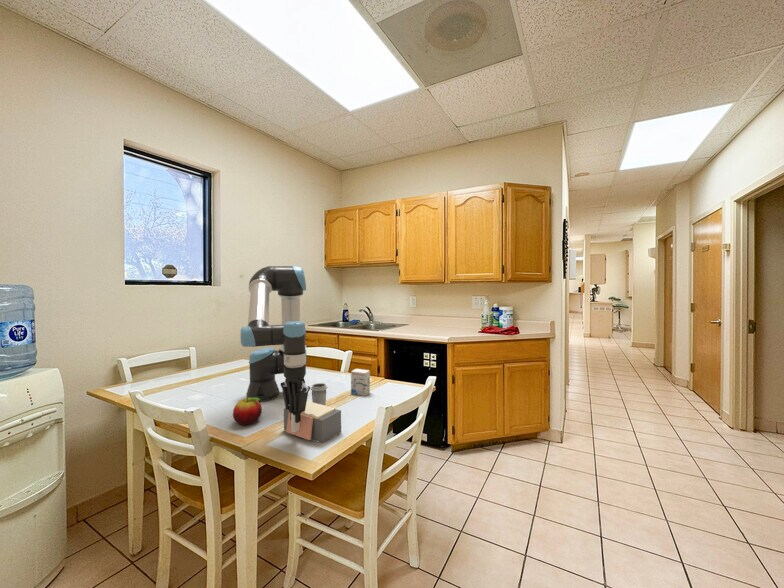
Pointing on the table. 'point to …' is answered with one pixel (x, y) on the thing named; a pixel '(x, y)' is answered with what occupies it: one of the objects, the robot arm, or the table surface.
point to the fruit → (247, 411)
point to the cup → (319, 393)
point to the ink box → (360, 382)
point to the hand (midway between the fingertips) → (295, 430)
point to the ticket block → (320, 421)
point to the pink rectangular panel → (302, 427)
